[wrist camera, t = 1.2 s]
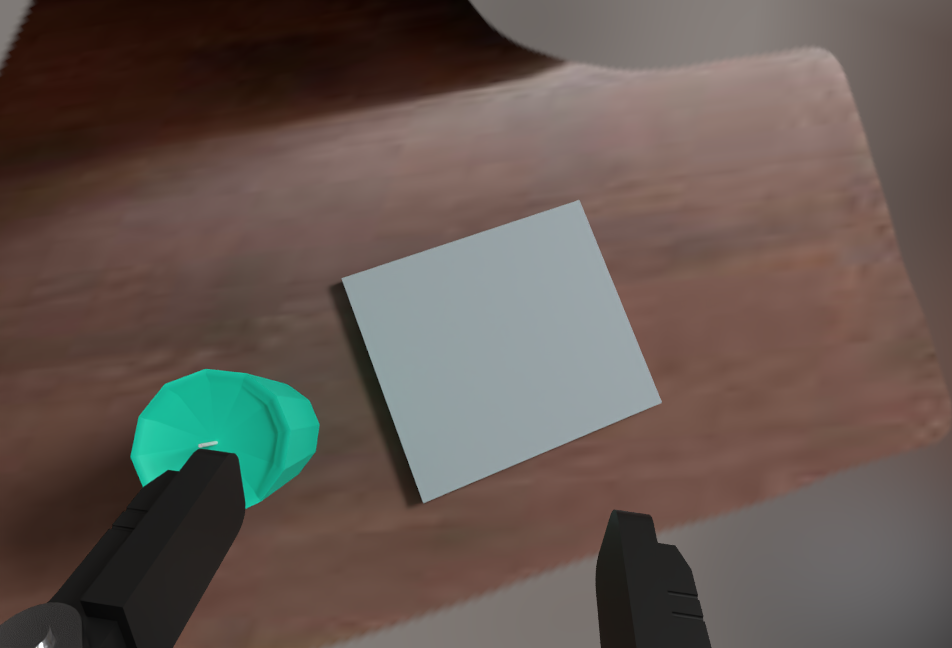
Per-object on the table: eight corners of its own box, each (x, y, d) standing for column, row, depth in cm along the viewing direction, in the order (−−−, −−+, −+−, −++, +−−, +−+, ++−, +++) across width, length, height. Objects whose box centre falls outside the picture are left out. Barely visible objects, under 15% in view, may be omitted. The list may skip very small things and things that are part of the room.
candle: (188, 426, 32) (76, 435, 21) (277, 360, 34) (219, 333, 22) (254, 509, 32) (179, 565, 21) (340, 440, 34) (317, 455, 22)
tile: (422, 500, 34) (423, 503, 33) (342, 281, 35) (341, 278, 34) (656, 402, 37) (661, 402, 36) (575, 204, 38) (579, 200, 37)
